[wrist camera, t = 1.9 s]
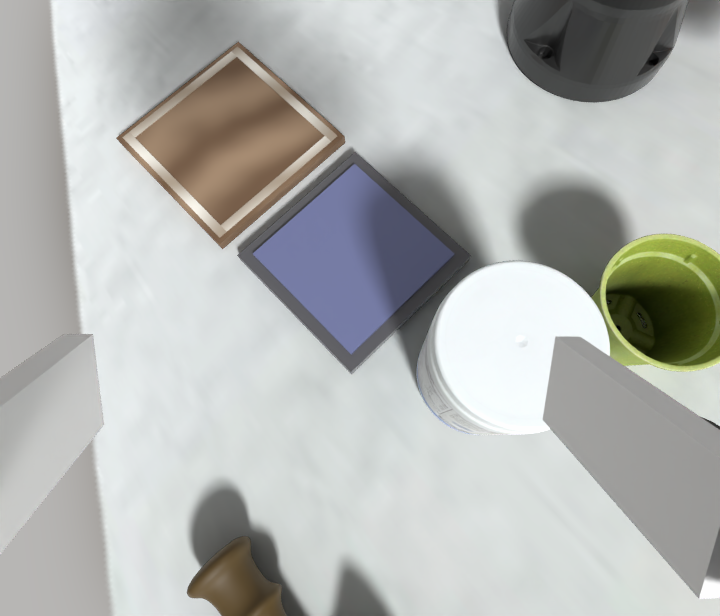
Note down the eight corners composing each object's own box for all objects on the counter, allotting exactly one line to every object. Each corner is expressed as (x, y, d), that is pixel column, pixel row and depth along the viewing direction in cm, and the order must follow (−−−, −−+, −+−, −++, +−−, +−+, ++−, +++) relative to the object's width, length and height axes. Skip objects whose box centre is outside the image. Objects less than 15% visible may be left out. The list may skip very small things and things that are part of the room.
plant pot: (536, 297, 42) (576, 261, 34) (638, 259, 42) (702, 214, 34) (588, 402, 40) (644, 392, 31) (695, 361, 40) (778, 340, 32)
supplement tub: (511, 306, 42) (579, 236, 28) (550, 418, 39) (648, 405, 25) (399, 335, 41) (411, 280, 27) (432, 450, 39) (463, 455, 25)
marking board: (345, 142, 46) (344, 135, 45) (222, 249, 44) (218, 244, 43) (241, 49, 49) (238, 41, 48) (121, 144, 47) (115, 137, 46)
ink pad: (468, 260, 43) (471, 253, 41) (351, 374, 41) (350, 371, 39) (355, 159, 46) (354, 149, 44) (241, 260, 44) (236, 253, 42)
